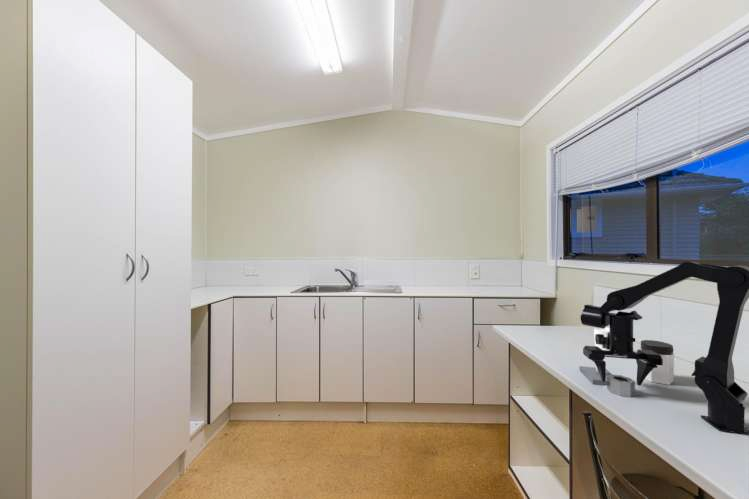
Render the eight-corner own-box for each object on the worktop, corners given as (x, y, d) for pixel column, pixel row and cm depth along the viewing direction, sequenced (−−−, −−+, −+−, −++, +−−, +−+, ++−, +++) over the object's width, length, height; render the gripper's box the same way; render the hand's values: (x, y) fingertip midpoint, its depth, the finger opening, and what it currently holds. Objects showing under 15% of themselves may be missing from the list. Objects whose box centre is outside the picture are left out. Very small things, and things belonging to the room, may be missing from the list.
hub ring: (637, 397, 94) (637, 384, 94) (613, 395, 95) (613, 381, 95) (627, 388, 100) (627, 375, 100) (604, 386, 101) (604, 373, 101)
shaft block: (621, 387, 101) (621, 366, 101) (592, 384, 103) (592, 364, 103) (605, 372, 112) (605, 354, 112) (579, 370, 115) (579, 352, 114)
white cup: (615, 352, 135) (616, 328, 134) (618, 357, 128) (618, 332, 128) (593, 349, 139) (593, 325, 139) (594, 354, 132) (594, 329, 132)
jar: (668, 387, 101) (668, 349, 101) (636, 378, 108) (636, 342, 108) (677, 380, 106) (677, 344, 106) (645, 372, 113) (646, 338, 113)
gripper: (642, 327, 103) (642, 376, 103) (577, 323, 108) (576, 370, 108) (664, 336, 92) (663, 391, 92) (590, 332, 97) (589, 383, 97)
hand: (620, 383), depth 97 cm, fingers open, 9 cm apart
